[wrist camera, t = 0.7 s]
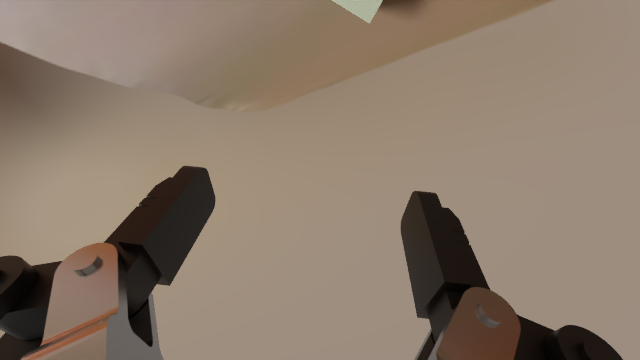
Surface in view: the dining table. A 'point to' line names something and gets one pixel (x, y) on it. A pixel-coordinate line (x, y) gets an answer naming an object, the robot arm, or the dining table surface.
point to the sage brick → (361, 7)
